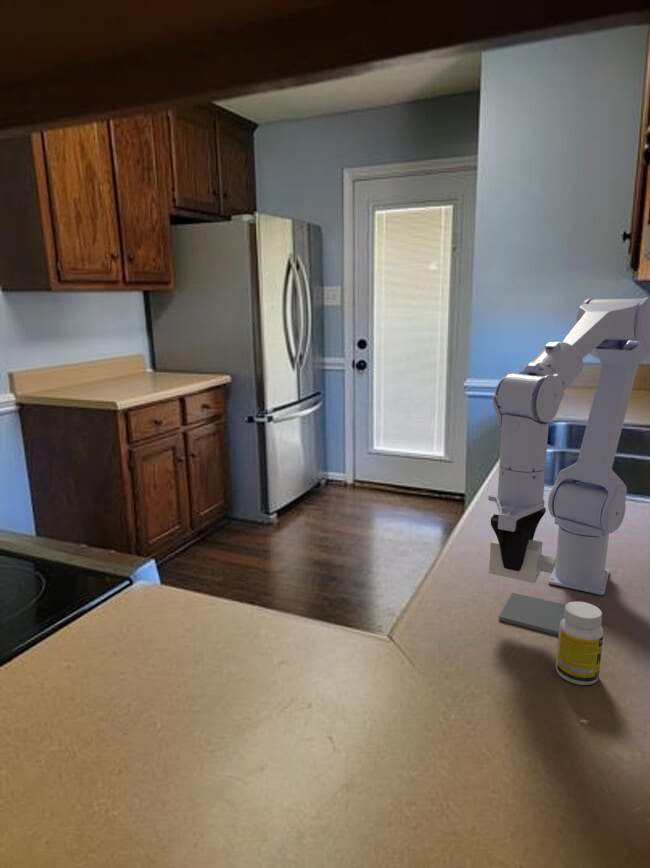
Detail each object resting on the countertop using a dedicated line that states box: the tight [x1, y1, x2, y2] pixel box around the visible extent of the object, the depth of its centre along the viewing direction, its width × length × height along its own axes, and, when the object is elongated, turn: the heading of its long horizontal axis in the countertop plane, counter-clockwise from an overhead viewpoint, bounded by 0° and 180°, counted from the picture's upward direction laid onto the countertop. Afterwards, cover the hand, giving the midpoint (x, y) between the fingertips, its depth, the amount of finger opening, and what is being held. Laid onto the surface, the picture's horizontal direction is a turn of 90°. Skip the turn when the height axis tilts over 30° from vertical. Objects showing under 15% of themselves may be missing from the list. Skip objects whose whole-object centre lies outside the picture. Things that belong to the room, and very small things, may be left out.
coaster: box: [498, 592, 566, 637], centre depth 82 cm, size 8×8×1 cm
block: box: [488, 535, 556, 584], centre depth 78 cm, size 4×8×4 cm, turn 60°
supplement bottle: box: [555, 601, 604, 686], centre depth 68 cm, size 5×5×8 cm
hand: (515, 562), depth 79 cm, fingers closed on block, 3 cm apart
